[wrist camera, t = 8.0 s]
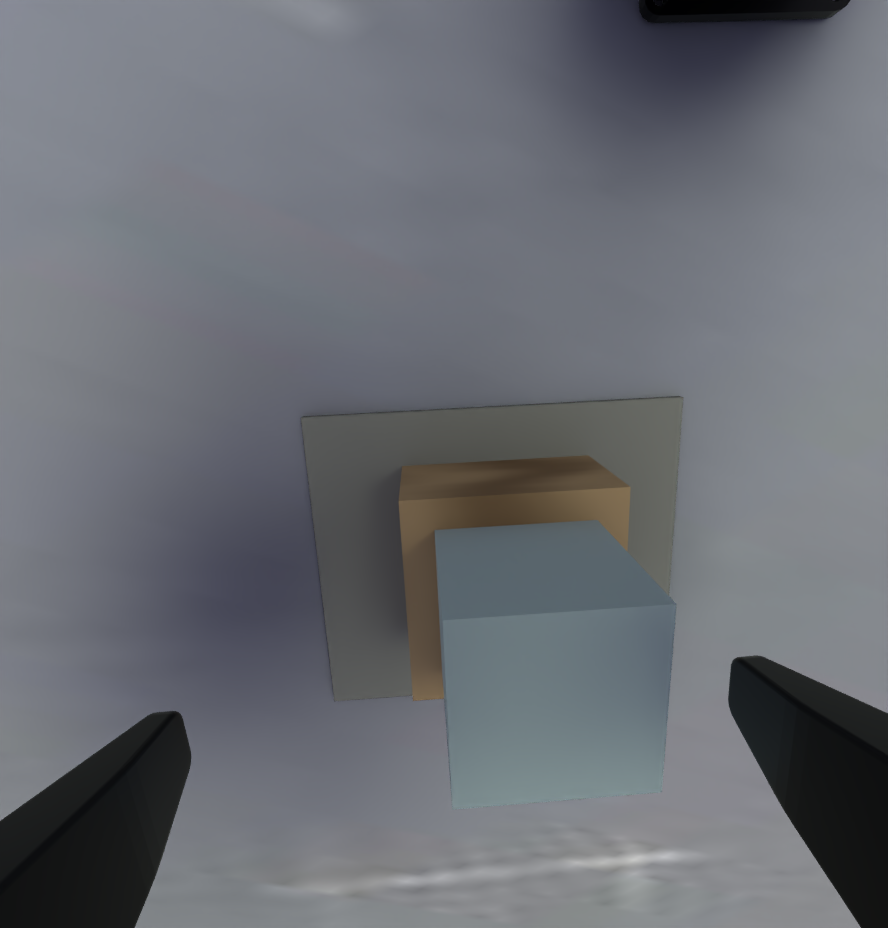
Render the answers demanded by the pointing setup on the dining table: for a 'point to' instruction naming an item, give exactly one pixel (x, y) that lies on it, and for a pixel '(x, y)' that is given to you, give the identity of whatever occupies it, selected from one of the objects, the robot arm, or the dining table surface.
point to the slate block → (551, 664)
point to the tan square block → (485, 505)
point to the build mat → (457, 441)
